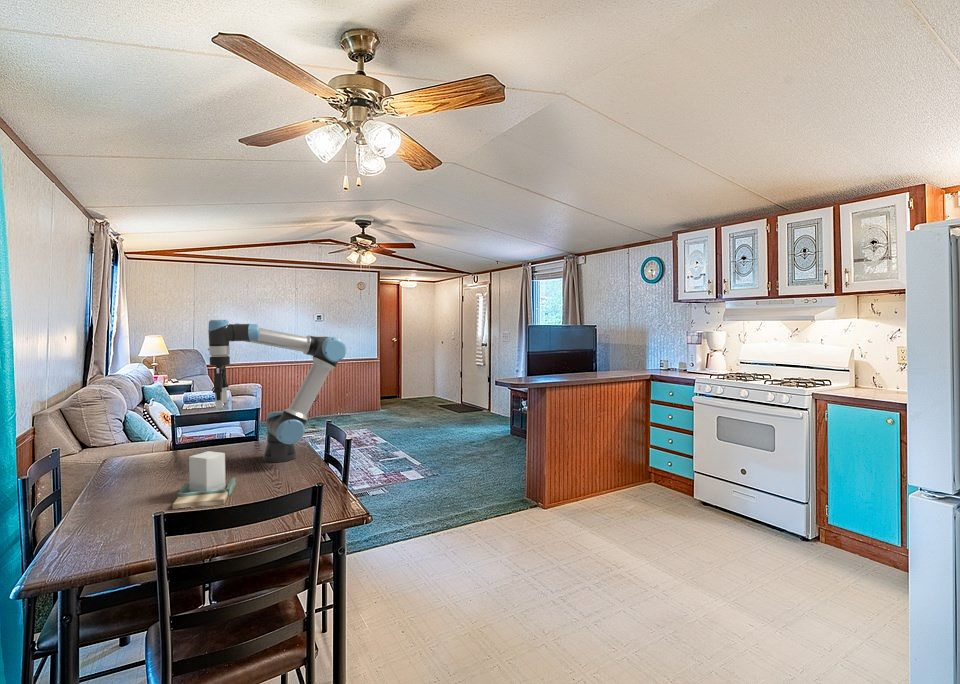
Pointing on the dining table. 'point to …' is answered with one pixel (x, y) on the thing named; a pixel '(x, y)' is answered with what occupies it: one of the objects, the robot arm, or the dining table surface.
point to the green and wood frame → (202, 496)
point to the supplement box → (207, 471)
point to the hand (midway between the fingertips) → (221, 405)
